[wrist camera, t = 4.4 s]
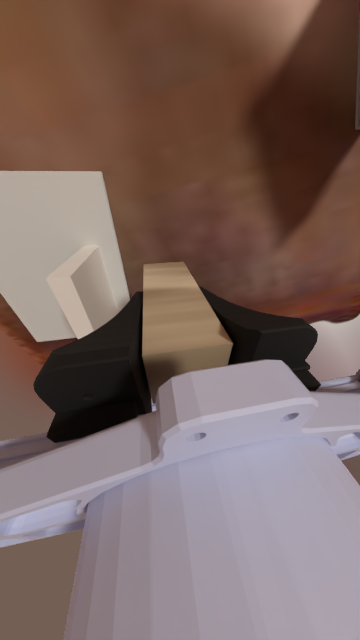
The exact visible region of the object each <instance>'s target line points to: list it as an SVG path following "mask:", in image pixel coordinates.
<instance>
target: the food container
mask: <svg viewBox="0 0 360 640" xmlns="http://www.w3.org/2000/svg"><path fill="white" fill-rule="evenodd" d="M359 129H360V9H359V36H358V64H357V91H356V118H355V130H359Z"/></svg>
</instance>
